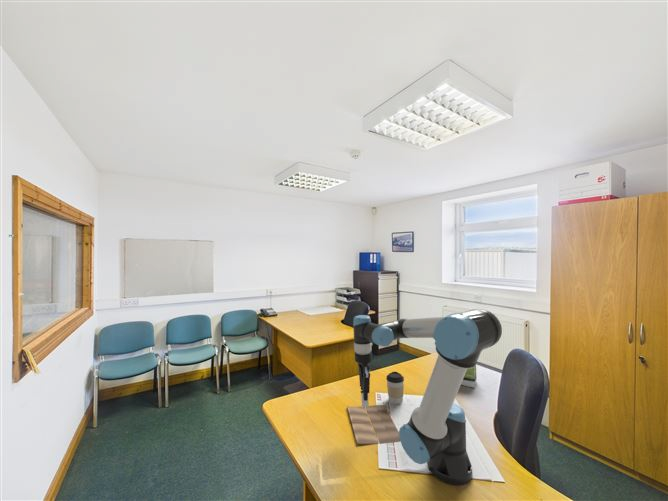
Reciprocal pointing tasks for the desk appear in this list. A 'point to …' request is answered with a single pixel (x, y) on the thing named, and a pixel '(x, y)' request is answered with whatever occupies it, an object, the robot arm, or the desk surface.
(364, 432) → the plank near
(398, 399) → the coffee cup
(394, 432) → the laid board
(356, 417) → the plank far
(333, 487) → the desk surface
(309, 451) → the desk surface
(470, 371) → the tea box
